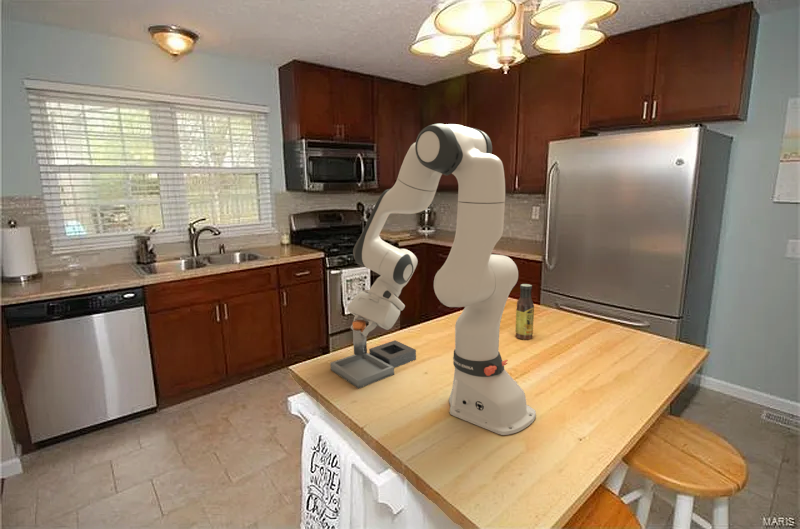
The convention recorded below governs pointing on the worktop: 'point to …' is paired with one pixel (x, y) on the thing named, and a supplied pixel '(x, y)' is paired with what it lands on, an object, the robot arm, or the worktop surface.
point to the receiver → (394, 353)
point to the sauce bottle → (524, 313)
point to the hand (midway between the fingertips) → (357, 332)
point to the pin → (359, 337)
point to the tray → (362, 369)
